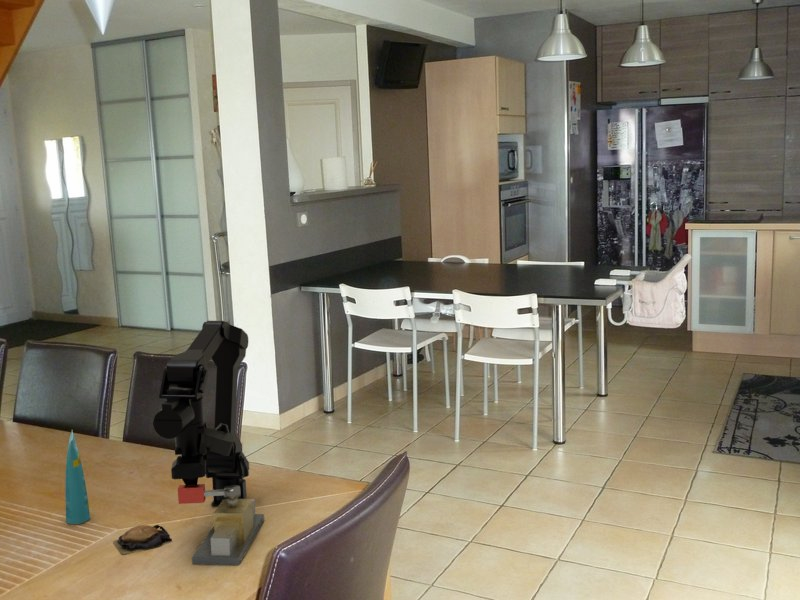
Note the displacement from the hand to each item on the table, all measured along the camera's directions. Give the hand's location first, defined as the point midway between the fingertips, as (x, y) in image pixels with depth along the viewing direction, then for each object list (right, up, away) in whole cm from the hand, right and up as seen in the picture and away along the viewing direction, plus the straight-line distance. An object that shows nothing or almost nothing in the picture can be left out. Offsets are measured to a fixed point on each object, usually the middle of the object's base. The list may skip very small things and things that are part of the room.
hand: (193, 493), depth 166 cm
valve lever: (+4, -1, -2) cm, 4 cm away
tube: (-28, -9, +12) cm, 31 cm away
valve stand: (+9, -10, 0) cm, 13 cm away
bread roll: (-10, -11, +1) cm, 15 cm away
